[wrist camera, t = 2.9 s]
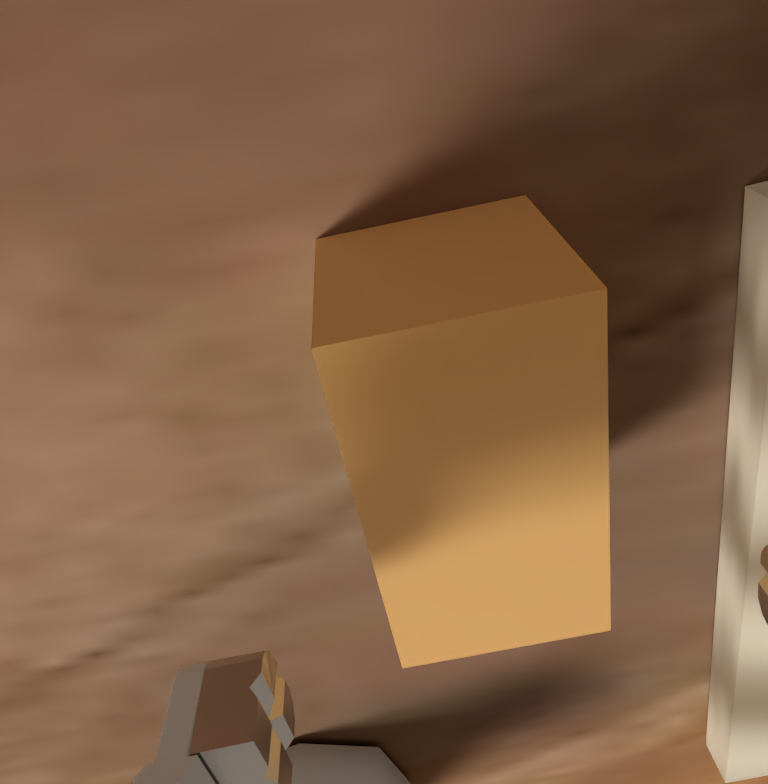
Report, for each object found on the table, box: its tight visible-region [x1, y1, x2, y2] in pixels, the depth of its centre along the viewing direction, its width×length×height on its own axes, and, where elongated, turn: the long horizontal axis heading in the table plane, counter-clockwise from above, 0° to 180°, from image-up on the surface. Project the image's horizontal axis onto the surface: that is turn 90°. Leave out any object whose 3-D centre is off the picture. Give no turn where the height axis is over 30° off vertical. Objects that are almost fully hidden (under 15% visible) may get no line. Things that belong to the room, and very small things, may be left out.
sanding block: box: [311, 195, 611, 668], centre depth 14 cm, size 8×4×5 cm, turn 11°
